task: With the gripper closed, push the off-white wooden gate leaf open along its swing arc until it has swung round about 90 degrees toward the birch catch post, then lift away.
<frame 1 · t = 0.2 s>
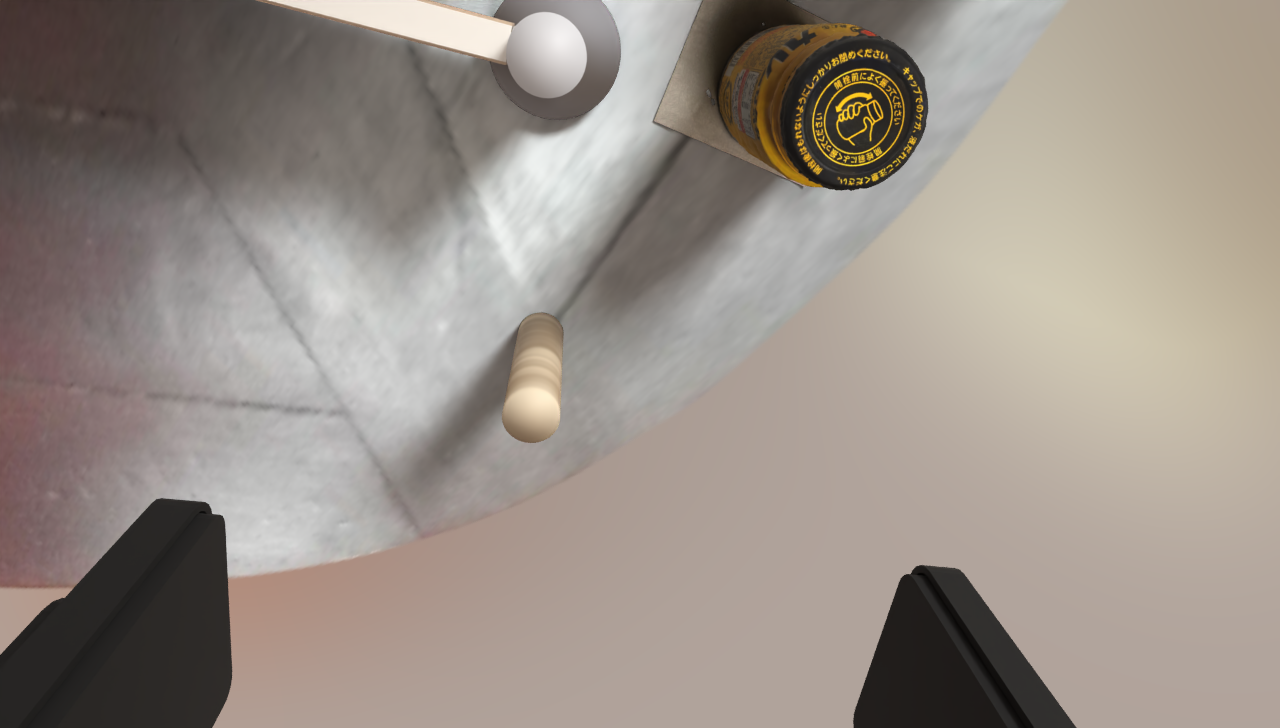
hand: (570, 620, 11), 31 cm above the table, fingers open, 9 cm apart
condiment: (761, 82, 38), on the table
gate frame: (555, 50, 36), on the table
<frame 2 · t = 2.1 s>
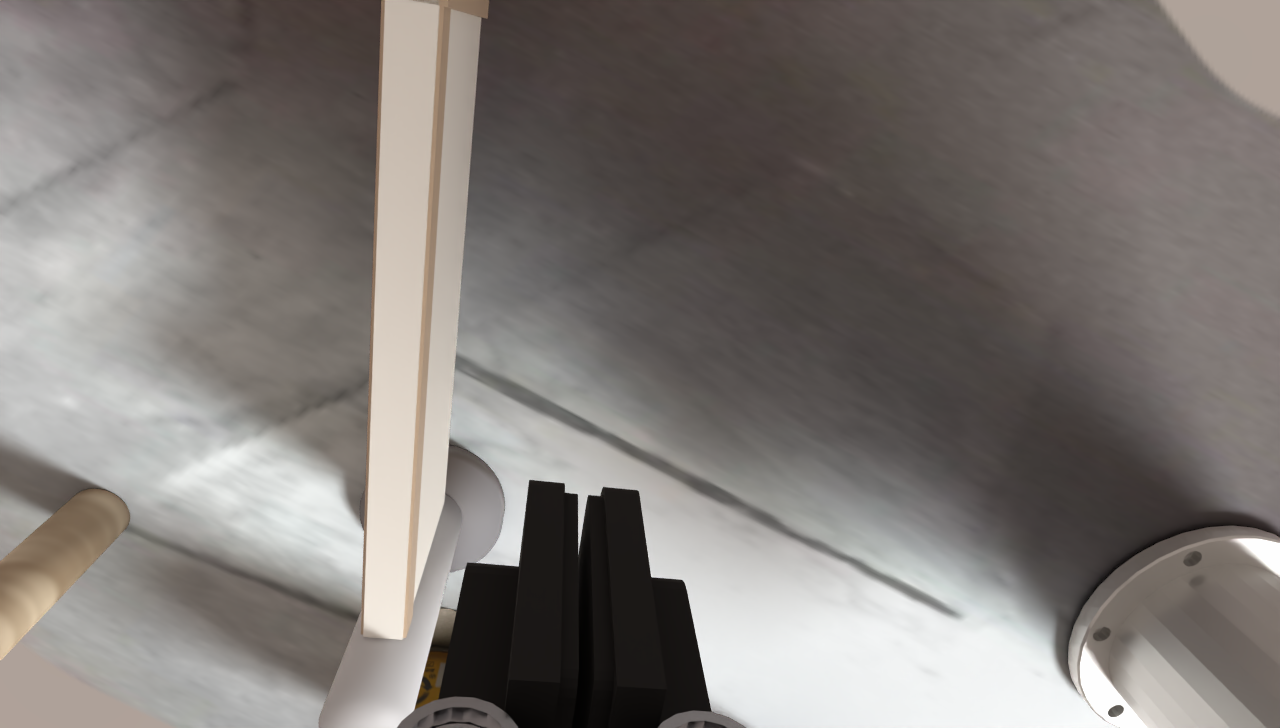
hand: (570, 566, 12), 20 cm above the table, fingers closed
condiment: (445, 675, 38), on the table
gate: (418, 344, 24), point 7 cm above the table, hinge at 0.0°
gate frame: (435, 503, 34), on the table
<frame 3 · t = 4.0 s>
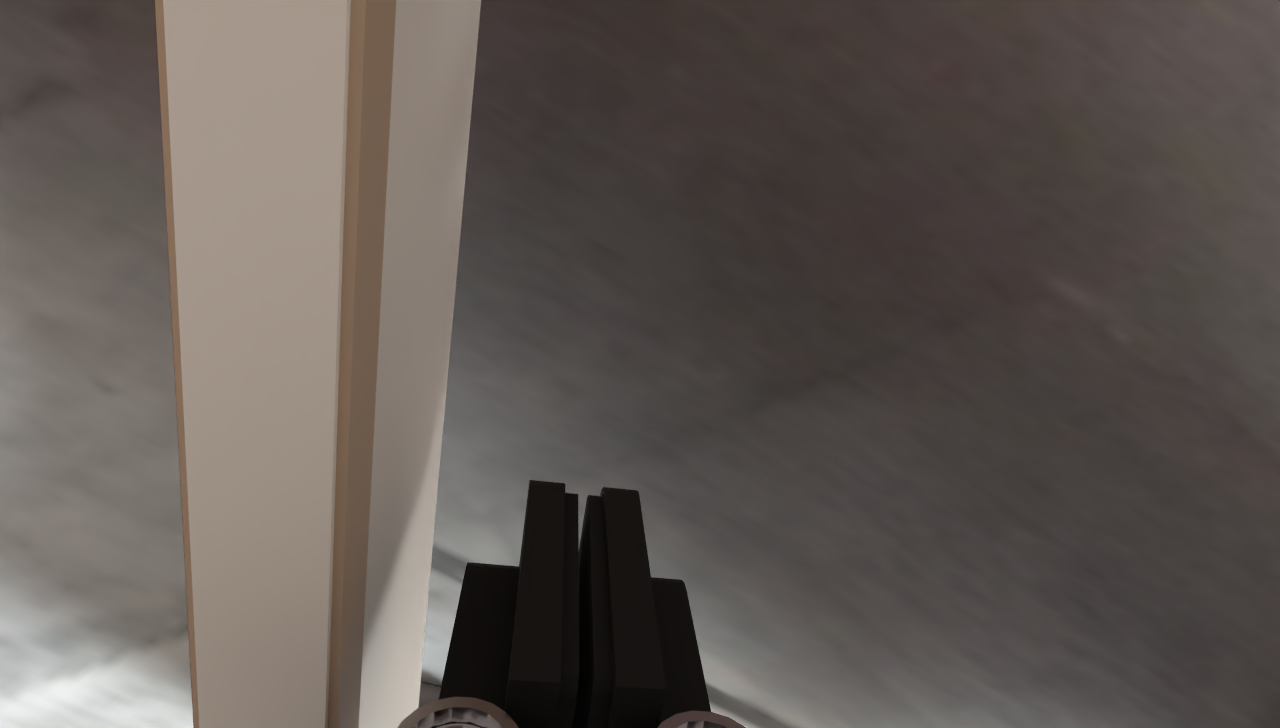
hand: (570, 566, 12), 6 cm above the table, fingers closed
gate: (347, 655, 12), point 7 cm above the table, hinge at 3.2°, touching gripper
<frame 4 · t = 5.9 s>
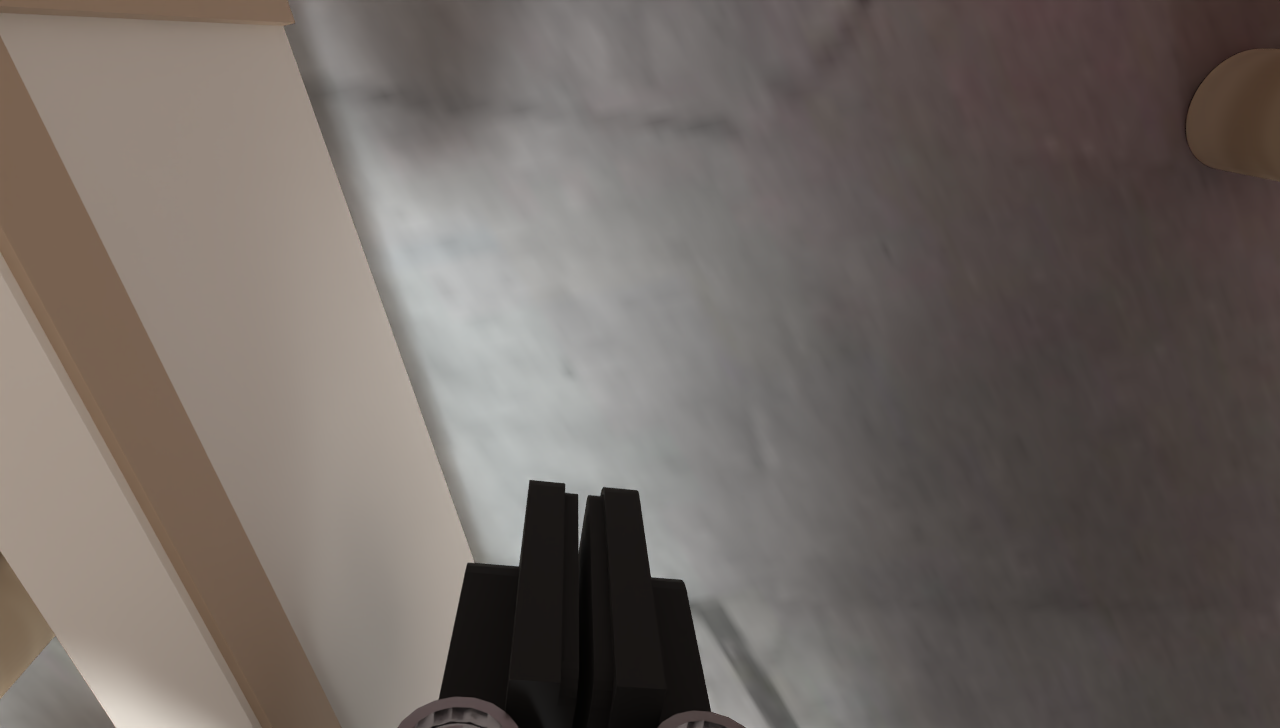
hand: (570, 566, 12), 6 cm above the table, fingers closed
gate: (383, 706, 12), point 7 cm above the table, hinge at 51.6°, touching gripper
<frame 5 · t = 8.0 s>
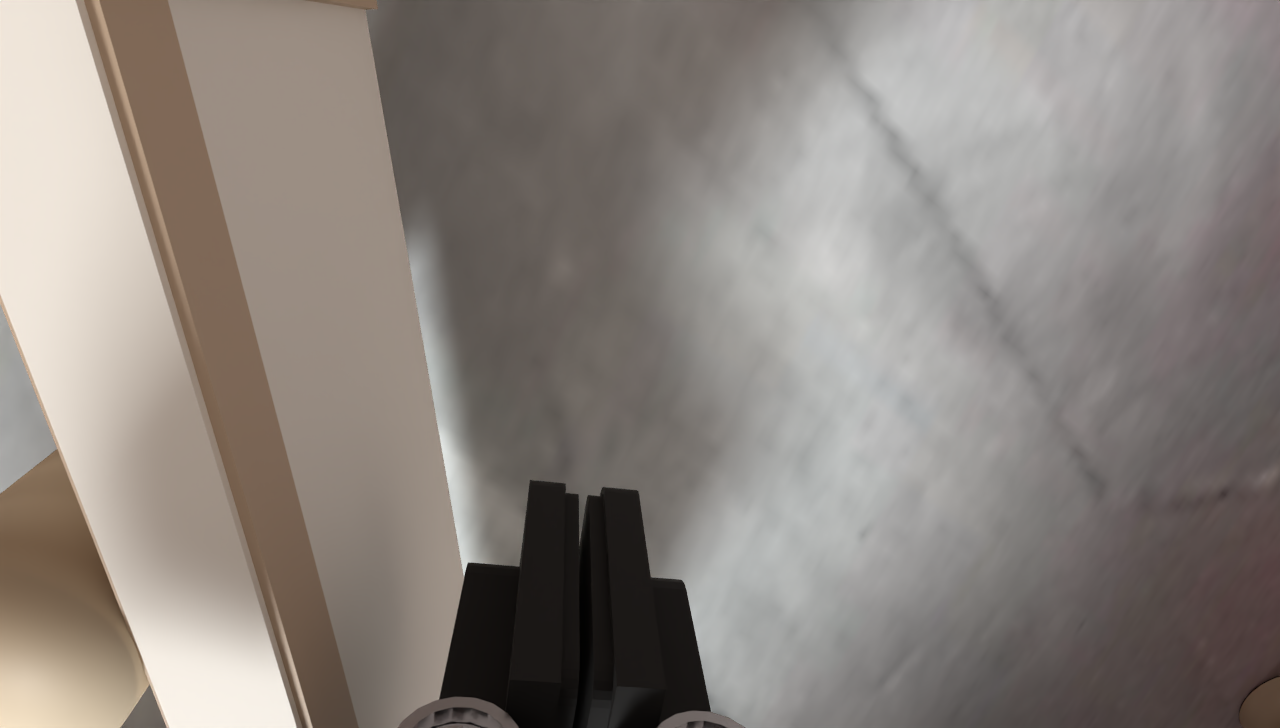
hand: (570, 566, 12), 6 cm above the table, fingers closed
gate: (371, 691, 12), point 7 cm above the table, hinge at 90.8°, touching gate frame, gripper
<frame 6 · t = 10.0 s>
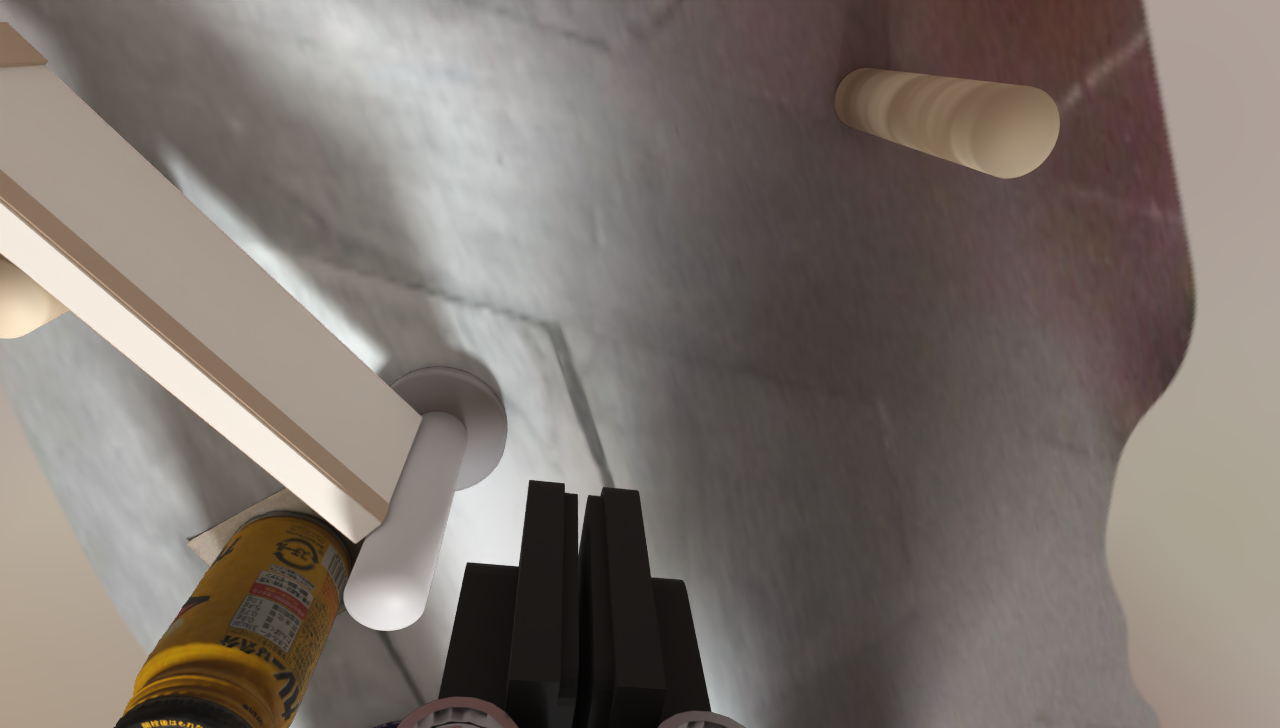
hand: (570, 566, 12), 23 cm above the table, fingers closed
condiment: (309, 551, 39), on the table
gate: (204, 318, 27), point 7 cm above the table, hinge at 90.8°, touching gate frame
gate frame: (442, 425, 36), on the table
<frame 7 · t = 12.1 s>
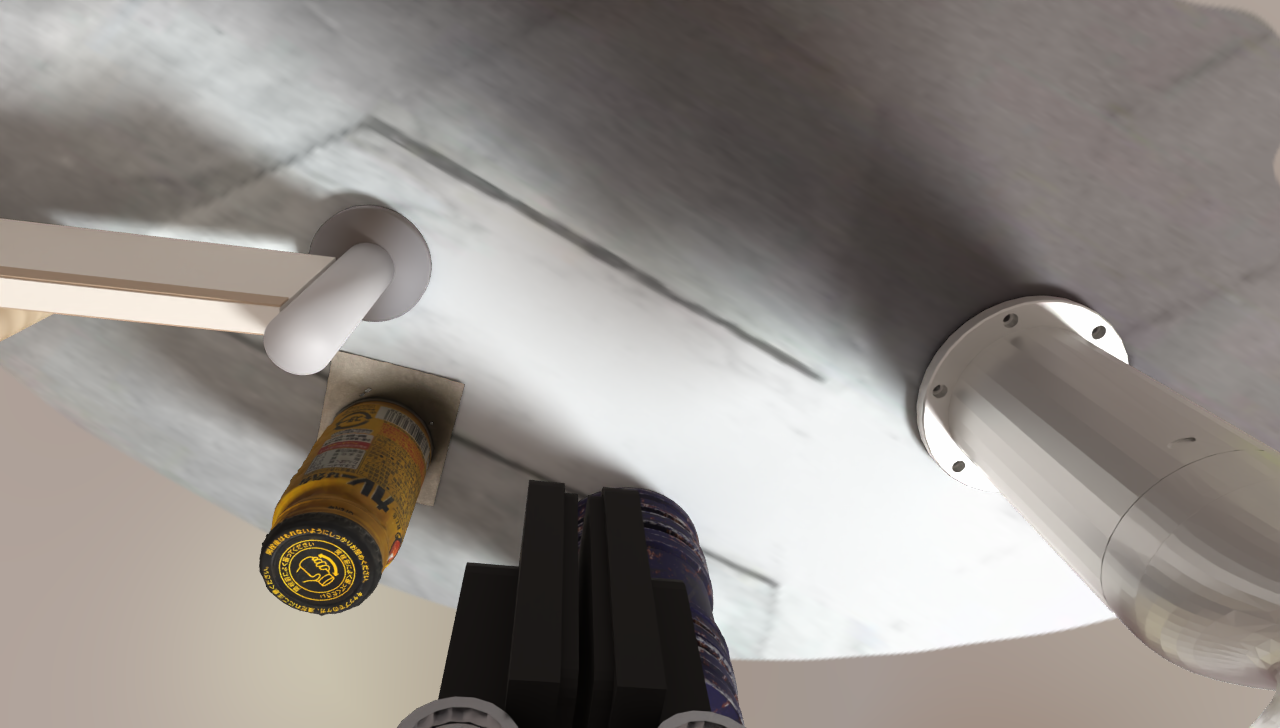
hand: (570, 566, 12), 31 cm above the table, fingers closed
condiment: (387, 428, 45), on the table
gate: (99, 273, 34), point 7 cm above the table, hinge at 90.8°, touching gate frame
storage jar: (623, 550, 50), on the table
gate frame: (373, 261, 41), on the table
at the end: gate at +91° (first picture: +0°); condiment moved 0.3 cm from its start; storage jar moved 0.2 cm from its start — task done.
